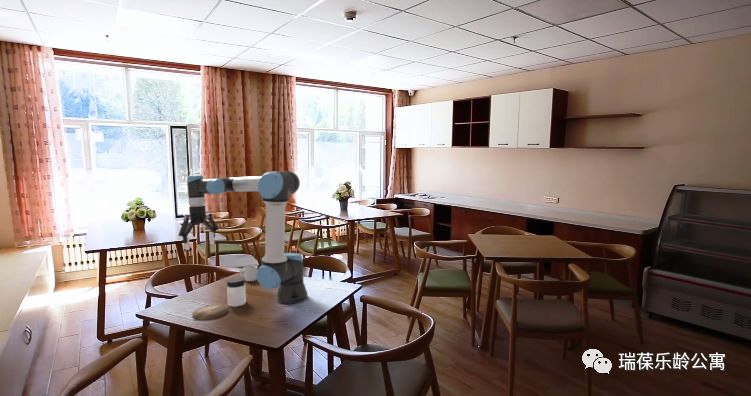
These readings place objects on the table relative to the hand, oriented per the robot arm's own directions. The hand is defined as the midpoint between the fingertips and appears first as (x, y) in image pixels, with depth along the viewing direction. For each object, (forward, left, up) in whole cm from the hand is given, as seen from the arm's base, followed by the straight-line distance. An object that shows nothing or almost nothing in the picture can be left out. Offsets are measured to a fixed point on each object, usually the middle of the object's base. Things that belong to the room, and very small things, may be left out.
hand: (200, 246), depth 198 cm
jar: (-23, +2, -27) cm, 36 cm away
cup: (-3, -30, -27) cm, 41 cm away
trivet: (-20, +16, -26) cm, 37 cm away
